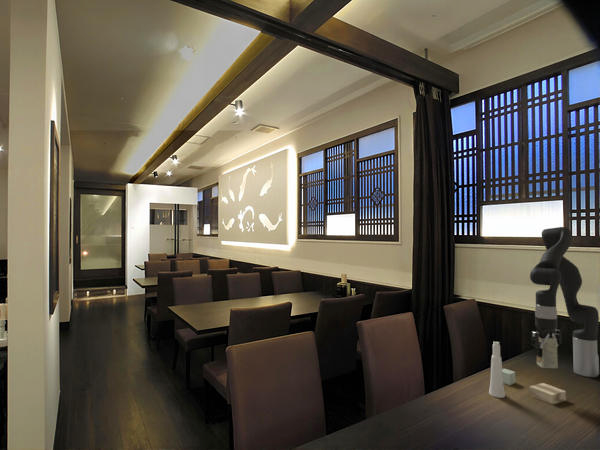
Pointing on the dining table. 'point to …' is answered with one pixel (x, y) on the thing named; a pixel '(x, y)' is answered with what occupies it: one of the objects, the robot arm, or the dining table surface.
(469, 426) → the dining table surface
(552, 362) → the skincare box
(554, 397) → the maple block
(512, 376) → the greygreen block
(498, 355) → the cosmetic bottle
